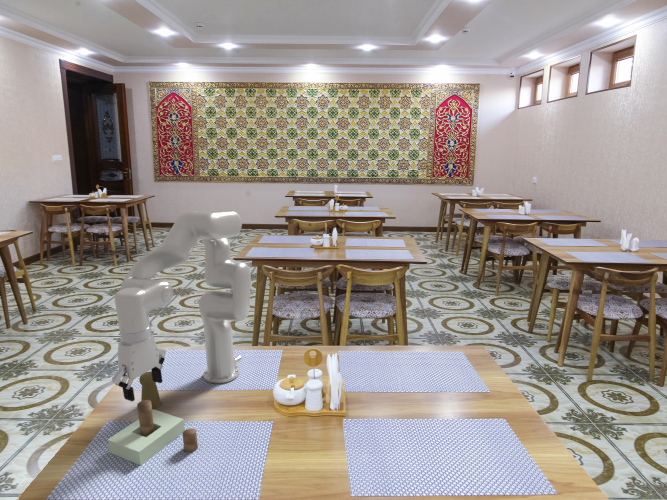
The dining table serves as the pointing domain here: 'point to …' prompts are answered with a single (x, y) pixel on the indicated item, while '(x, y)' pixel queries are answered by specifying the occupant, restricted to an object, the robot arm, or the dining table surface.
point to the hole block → (146, 438)
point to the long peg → (145, 417)
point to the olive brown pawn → (149, 390)
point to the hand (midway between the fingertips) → (144, 390)
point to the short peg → (190, 440)
